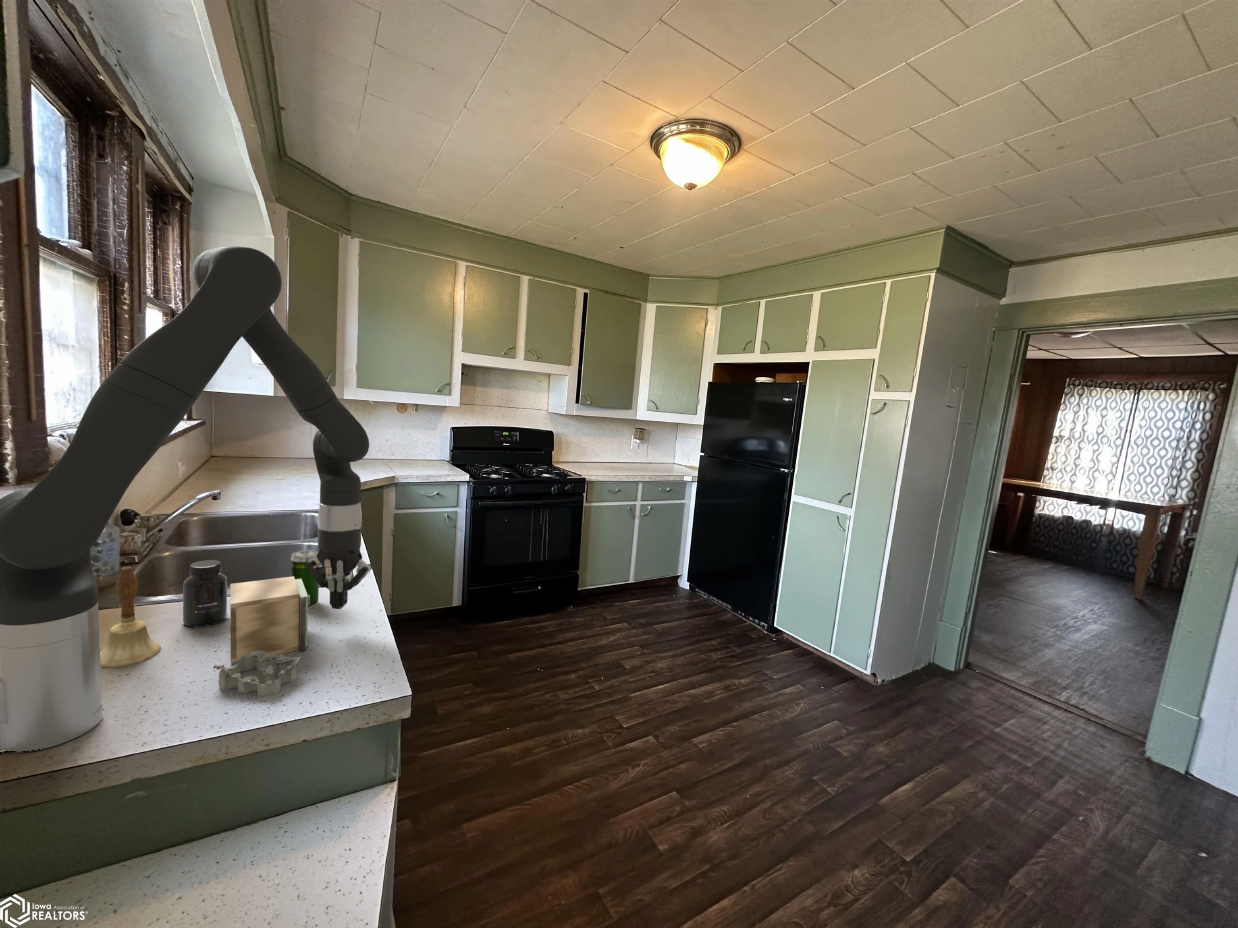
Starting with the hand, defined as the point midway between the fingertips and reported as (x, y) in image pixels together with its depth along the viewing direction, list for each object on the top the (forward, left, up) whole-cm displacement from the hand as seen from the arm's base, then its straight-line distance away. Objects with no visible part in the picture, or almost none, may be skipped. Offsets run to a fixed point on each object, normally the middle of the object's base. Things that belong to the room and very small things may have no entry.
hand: (338, 607), depth 100 cm
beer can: (-4, +16, -5) cm, 18 cm away
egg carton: (-14, -13, -6) cm, 19 cm away
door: (-6, 0, -5) cm, 8 cm away
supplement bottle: (-21, +16, -5) cm, 27 cm away
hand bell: (-31, +6, -5) cm, 32 cm away
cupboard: (-12, 0, -5) cm, 13 cm away
